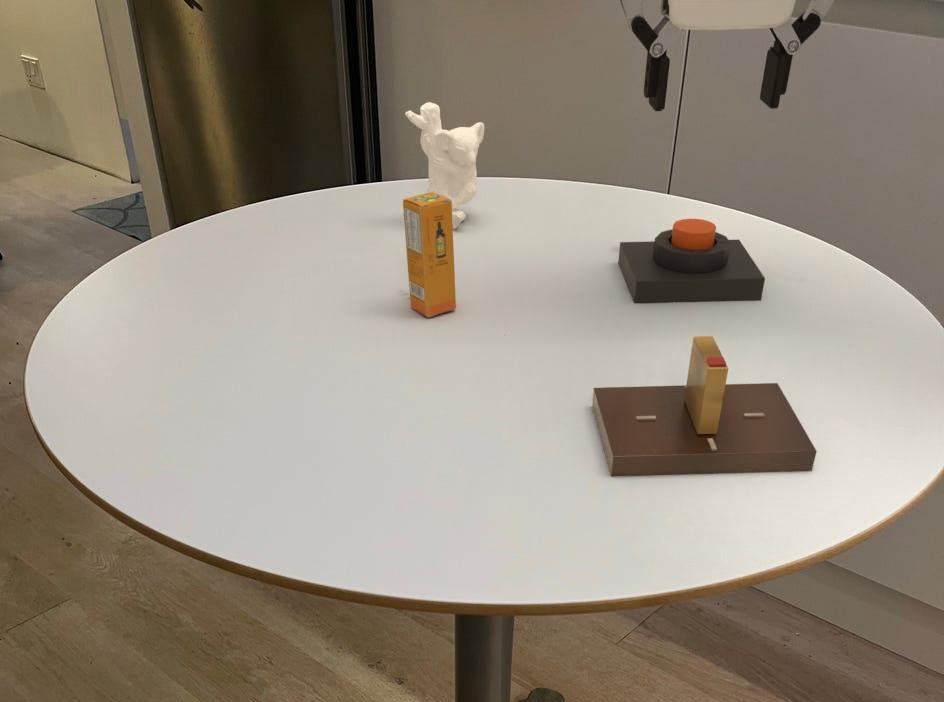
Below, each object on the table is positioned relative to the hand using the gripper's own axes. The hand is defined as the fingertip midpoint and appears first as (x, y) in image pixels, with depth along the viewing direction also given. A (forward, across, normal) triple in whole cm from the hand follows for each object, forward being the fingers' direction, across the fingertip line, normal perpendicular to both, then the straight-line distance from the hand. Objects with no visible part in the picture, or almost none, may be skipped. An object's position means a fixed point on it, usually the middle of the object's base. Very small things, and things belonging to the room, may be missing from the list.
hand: (712, 105), depth 85 cm
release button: (+13, -1, -3) cm, 13 cm away
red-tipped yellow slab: (+13, +6, +29) cm, 32 cm away
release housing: (+16, -1, -3) cm, 17 cm away
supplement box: (+17, +24, +1) cm, 29 cm away
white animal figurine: (+17, +22, -22) cm, 35 cm away
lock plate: (+16, +6, +29) cm, 34 cm away
